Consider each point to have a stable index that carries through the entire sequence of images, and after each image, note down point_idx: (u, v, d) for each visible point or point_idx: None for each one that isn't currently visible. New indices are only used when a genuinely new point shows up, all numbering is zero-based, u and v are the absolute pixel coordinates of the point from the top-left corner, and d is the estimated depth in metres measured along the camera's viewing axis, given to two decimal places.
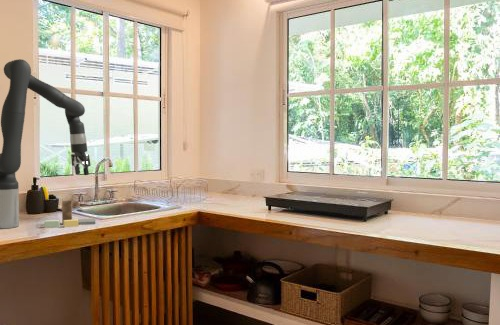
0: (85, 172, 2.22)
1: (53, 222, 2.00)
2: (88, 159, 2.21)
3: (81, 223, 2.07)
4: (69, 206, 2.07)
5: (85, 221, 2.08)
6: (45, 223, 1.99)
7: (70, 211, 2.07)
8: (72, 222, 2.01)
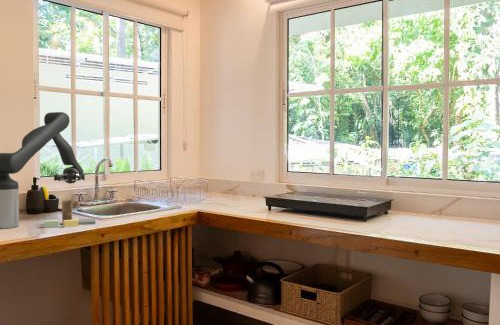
0: (79, 176, 2.21)
1: (53, 222, 2.00)
2: None
3: (81, 223, 2.07)
4: (69, 206, 2.07)
5: (85, 221, 2.08)
6: (45, 223, 1.99)
7: (70, 211, 2.07)
8: (72, 222, 2.02)
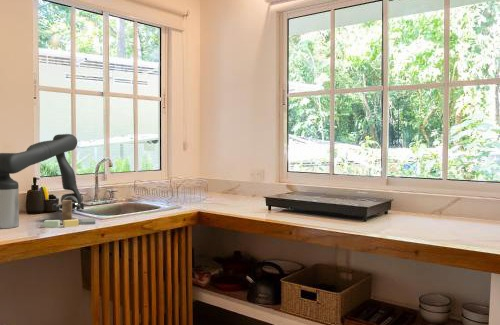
0: (78, 206, 2.15)
1: (52, 222, 2.00)
2: None
3: (81, 223, 2.07)
4: (69, 206, 2.07)
5: (85, 221, 2.08)
6: (45, 223, 1.99)
7: (70, 211, 2.07)
8: (72, 222, 2.02)
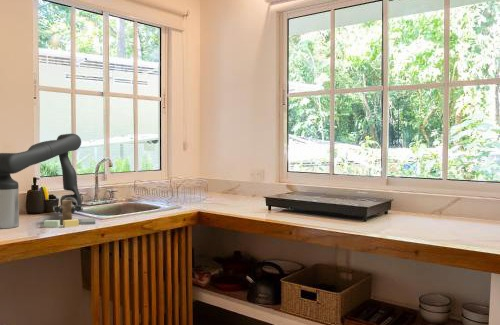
0: (73, 208, 2.08)
1: (52, 222, 1.99)
2: (81, 209, 2.15)
3: (81, 223, 2.07)
4: (69, 206, 2.07)
5: (85, 221, 2.08)
6: (45, 223, 1.99)
7: (70, 211, 2.07)
8: (72, 222, 2.02)
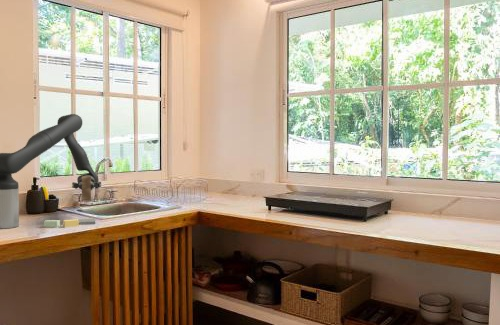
0: (92, 184, 2.10)
1: (52, 222, 1.99)
2: (99, 186, 2.17)
3: (81, 223, 2.07)
4: (88, 182, 2.09)
5: (85, 221, 2.08)
6: (44, 223, 1.99)
7: (89, 187, 2.09)
8: (72, 222, 2.02)
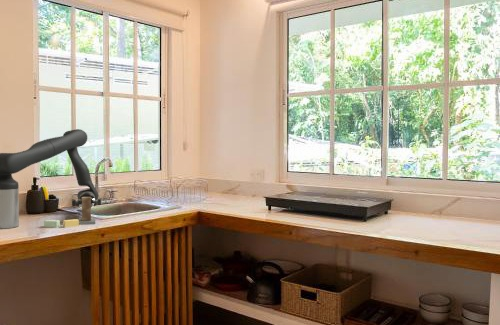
0: (96, 202, 2.11)
1: (51, 222, 1.99)
2: (101, 202, 2.18)
3: (81, 223, 2.07)
4: (88, 202, 2.09)
5: (85, 221, 2.08)
6: (44, 223, 2.00)
7: (89, 208, 2.10)
8: (73, 222, 2.02)
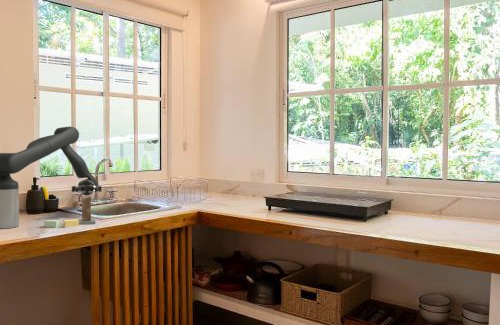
0: (97, 188, 2.24)
1: (51, 222, 1.99)
2: None
3: (81, 223, 2.07)
4: (88, 202, 2.09)
5: (85, 221, 2.08)
6: (44, 223, 2.00)
7: (89, 208, 2.10)
8: (73, 222, 2.02)
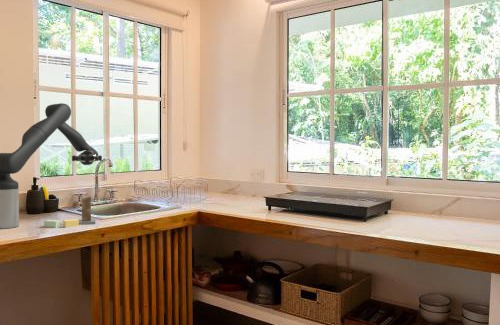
0: (97, 157, 2.23)
1: (51, 222, 1.99)
2: None
3: (81, 223, 2.07)
4: (88, 202, 2.09)
5: (85, 221, 2.08)
6: (44, 223, 2.00)
7: (89, 208, 2.10)
8: (73, 222, 2.02)
